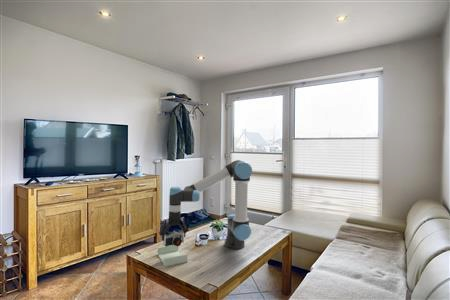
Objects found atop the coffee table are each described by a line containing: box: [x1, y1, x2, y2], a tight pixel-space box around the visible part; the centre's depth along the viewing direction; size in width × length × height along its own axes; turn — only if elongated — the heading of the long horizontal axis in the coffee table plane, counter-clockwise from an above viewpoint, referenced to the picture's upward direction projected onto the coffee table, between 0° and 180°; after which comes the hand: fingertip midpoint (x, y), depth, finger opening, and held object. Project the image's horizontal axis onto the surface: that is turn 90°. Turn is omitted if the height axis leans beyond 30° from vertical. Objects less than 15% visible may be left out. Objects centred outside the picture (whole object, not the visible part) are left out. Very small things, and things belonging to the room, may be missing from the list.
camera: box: [165, 230, 182, 247], centre depth 158 cm, size 13×8×9 cm, turn 139°
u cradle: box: [157, 245, 188, 268], centre depth 157 cm, size 14×18×5 cm
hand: (173, 243), depth 158 cm, fingers closed on camera, 12 cm apart
